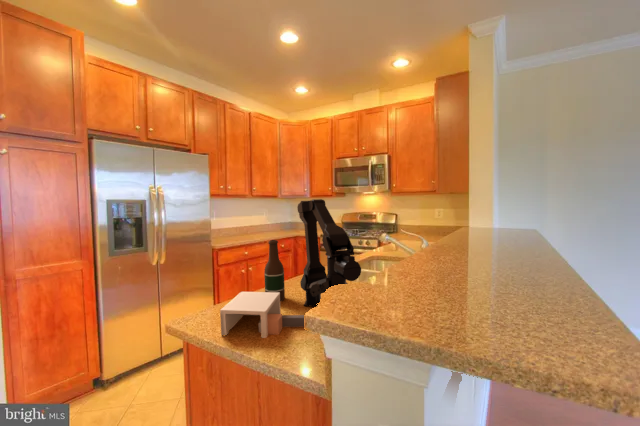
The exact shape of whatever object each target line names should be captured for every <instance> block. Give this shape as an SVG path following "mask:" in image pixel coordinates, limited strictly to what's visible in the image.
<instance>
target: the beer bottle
mask: <svg viewBox="0 0 640 426" xmlns="http://www.w3.org/2000/svg"><path fill="white" fill-rule="evenodd" d="M278 243H279V241H278V240H277V239H271V240H268V245H269V248H268V261H267V263H266V264H265V266H264V292H280V303H281V302H283V301H284V300H285V295H286V294H285V293H286V291H285V290H286V289H285V287H286V286H285V269H284V265H283V263H282V262H281V260H280V257H279V248H278Z"/></svg>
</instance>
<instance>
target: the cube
mask: <svg viewBox="0 0 640 426" xmlns="http://www.w3.org/2000/svg"><path fill="white" fill-rule="evenodd" d="M282 315H283V314H282V313H281V314H268V315H267V324H268V335H279V334H280V333H281V331H282V329H283V328H284V327H282Z"/></svg>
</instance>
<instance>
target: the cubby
mask: <svg viewBox="0 0 640 426" xmlns="http://www.w3.org/2000/svg"><path fill="white" fill-rule="evenodd" d="M268 314H282V311H281V302H280V292H265V291H240V292H239V293H238V294H237V295H235V297H234V298H232V299H231V300H230V301H229V302H228V303H227V304H225V305H224V306H223V307H222V308H220V309H219V315H220V317H219V318H220V335H227V334H228V335H229V332H230V331H231V330H232V328H233V327H235V325H236V324H237V323H238V322H239V321H240V320H241V318H243V317H244V316H260V319H261V332H260V335H261V336H260V337H261V338H262V339H265V338H266V339H267V337H268V336H269V334H268V324H267V315H268ZM230 329H231V330H230ZM229 330H230V331H229ZM228 331H229V332H228ZM228 335H227V336H228Z"/></svg>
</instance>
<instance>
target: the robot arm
mask: <svg viewBox="0 0 640 426" xmlns="http://www.w3.org/2000/svg"><path fill="white" fill-rule="evenodd" d="M297 213H298V217H299V219H300V221H301V222H302V223H303V224H304V225H303V227H304V237H305V247H306V248H305V249H306V250H305V251H306V252H305V253H306V264H305V267H304V268H303V275H302V277H301V279H300V282H299V283H300V288H301V289H302V290H303V291H304V292H305V301H304V304H303V306H304V307H318V306H317V305H318V304H317V303H319V302H320V299H322V297H321V296H322V294H324V293H326V292H325V291H326V289H328V288H329V287H331V286H334V285H338V284H348V285H349V283H348V282H347V281H349V282H354V281H356V280H357V279H359V278H360V276H361V273H362V267H361V264H360V263H359V262H358V261H356V259H355V256H354V255H355V251H354V246H353V244H352V242H351V239H350V237H349V235H348V233H347V232H346V231H345V230H344V228H343V227H341V226H339V225H337V223H336V222H335V220H334V218H333V217H332V215H331V213H330V211H329V209H328V207H327V206H326V201H325V200H324V199H321V198H318V199H311V200H301V201H300V202H299V203H298V204H297ZM317 223H318V224H317ZM318 225H319V228H320V229H321V232H322V234H323V235H322V239H321V241H322V245H323V248H324V250H325V256H326V259H327V260H326V262H327V263H326V265H327V266H326V267H327V270H326V267H325V265H323V264H322V262H320V248H319V247H320V246H319V238H318V237H319V233H318ZM326 271H327V272H326ZM316 304H317V305H316Z"/></svg>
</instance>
